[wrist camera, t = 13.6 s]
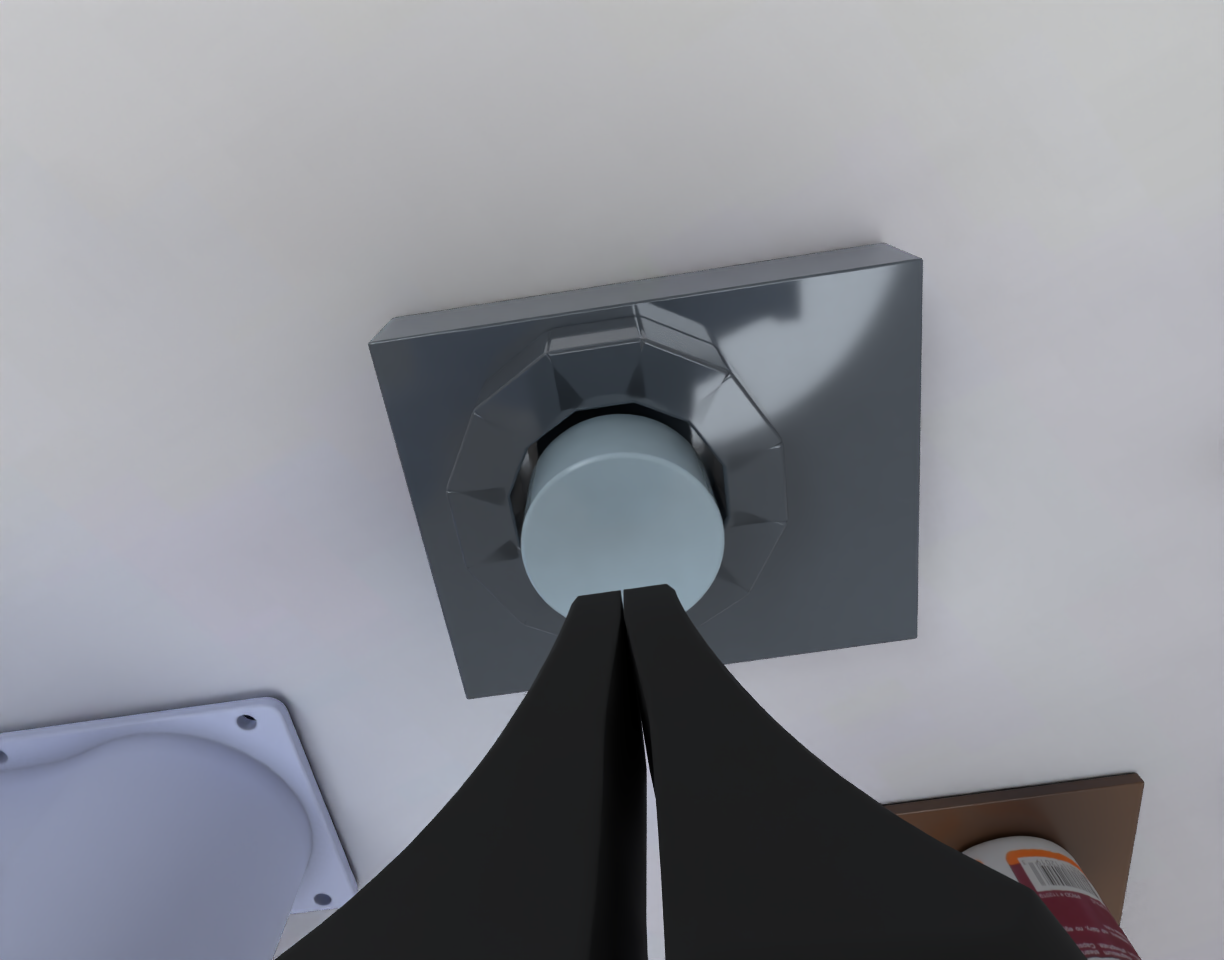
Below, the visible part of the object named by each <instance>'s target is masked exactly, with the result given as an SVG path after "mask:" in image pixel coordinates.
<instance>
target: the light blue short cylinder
mask: <svg viewBox="0 0 1224 960" xmlns="http://www.w3.org/2000/svg"><path fill="white" fill-rule="evenodd" d="M724 547H725V531H724V525H723V520H722V517H721V514H720V511H719V508H718V505H717V502H716V499H715V496H714V493H713V490H712V487H711V484H710V481H709V478H708V475H707V472H706V469H705V466H704V464H703V462H702V460H701V458H700V456H699V455H698V453H697V452H696V450H695V449H694V448H693V446H692V445H691V444H690V443H689V442H688V441H687V440H686V439H685V438H684V437H683V436H682V435H680V434H679V433H678V432H677V431H675V430H674V429H672V428H670V427H669V426H667V425H665V424H663V423H661V422H658V421H656V420H654V419H650V418H647V417H643V416H638V415H632V414H611V415H603V416H598V417H594V418H591V419H588V420H585V421H582V422H580V423H578V424H576V425H574V426H572V427H570V428H569V429H567V430H566V431H564V432H563V433H561V434H560V435H559V436H558V437H556V438H555V439H554V440H553V441H552V442H551V443H550V444H549V445H548V446H547V448H546V449H545V450H544V451H543V453H542V454H541V456H540V457H539V459H538V460H537V463H536V465H535V467H534V469H533V472H532V475H531V478H530V482H529V488H528V494H527V501H526V507H525V513H524V520H523V526H522V532H521V555H522V561H523V564H524V568H525V571H526V573H527V575H528V578H529V580H530V582H531V584H532V585H533V587H534V588H535V590H536V591H537V593H538V594H539V595H540V596H541V597H542V598H543V600H544V601H545V602H546V603H547V604H548V605H549V606H551V607H552V608H553V609H554V610H555V611H557V612H558V613H559V614H561V615H562V616H564V617H565V618H566V617H567V614H568V612H569V609H570V607H571V604H572V603H573V602H574V600H575V599H576V598H577V597H578V596H582V595H589V594H596V593H603V592H610V591H617V590H621V596H622V602H623V590H624V589H632V588H639V587H646V586H653V585H660V584H668V585H669V586H671V587H672V588H673V589H675V591H676V594H677V596H678V598H679V600H680V603H681V604H682V606H683V608H684V610H685V612H686V611H687V610H689V609H690V608H691V607H693V606H694V605H695V604H696V603H697V602H698V601H699V600H700V599H701V598H702V597H703V595H704V594H705V593H706V592H707V590H708V589H709V588H710V586H711V584H712V583H713V581H714V579H715V578H716V576H717V573H718V571H719V569H720V566H721V563H722V559H723V555H724ZM623 608H624V604H623Z"/></svg>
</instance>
